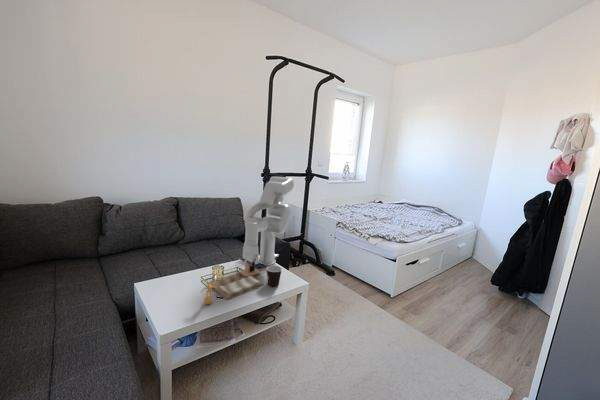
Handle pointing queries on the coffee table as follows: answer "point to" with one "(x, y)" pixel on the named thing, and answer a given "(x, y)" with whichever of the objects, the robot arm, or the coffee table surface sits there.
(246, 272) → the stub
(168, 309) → the coffee table surface
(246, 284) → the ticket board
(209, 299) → the figurine
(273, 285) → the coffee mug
